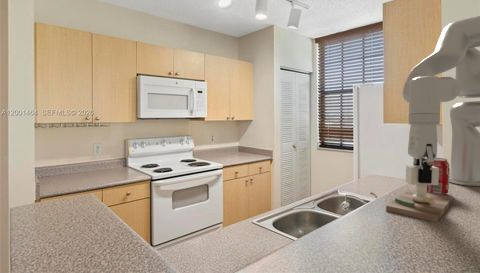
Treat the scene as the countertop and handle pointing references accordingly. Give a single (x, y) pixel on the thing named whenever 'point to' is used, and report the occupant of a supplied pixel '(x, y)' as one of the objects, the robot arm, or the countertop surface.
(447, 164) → the soda can
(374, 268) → the countertop surface
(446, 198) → the dial board
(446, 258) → the countertop surface
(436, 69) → the robot arm
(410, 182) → the knob
